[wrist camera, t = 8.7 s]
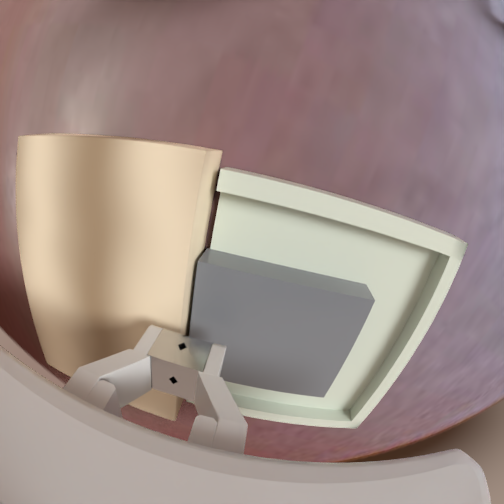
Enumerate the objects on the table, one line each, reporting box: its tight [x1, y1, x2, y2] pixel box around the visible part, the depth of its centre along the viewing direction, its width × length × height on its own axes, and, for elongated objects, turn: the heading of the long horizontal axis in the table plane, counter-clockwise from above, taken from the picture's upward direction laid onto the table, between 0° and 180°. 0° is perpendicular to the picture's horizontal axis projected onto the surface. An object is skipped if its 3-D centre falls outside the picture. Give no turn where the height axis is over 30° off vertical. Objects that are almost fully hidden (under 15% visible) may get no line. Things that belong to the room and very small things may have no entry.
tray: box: [186, 167, 468, 428], centre depth 12 cm, size 11×13×1 cm
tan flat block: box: [16, 133, 223, 421], centre depth 12 cm, size 10×14×2 cm
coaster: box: [189, 248, 375, 398], centre depth 12 cm, size 7×6×1 cm
